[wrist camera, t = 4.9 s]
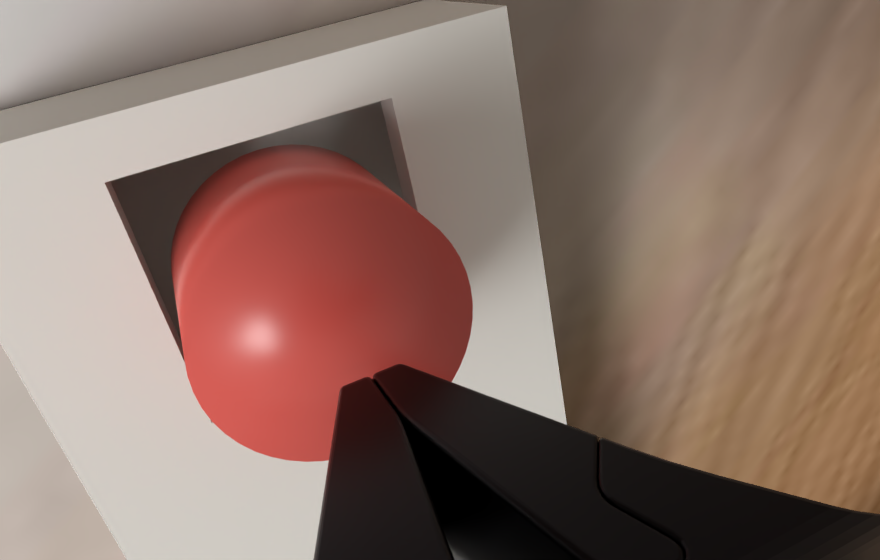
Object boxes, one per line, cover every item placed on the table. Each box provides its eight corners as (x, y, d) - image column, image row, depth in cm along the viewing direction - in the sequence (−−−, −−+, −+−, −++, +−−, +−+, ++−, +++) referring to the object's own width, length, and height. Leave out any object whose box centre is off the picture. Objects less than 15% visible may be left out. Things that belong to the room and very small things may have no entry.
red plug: (373, 114, 13) (444, 155, 10) (422, 316, 15) (492, 396, 12) (130, 187, 12) (132, 256, 9) (219, 393, 14) (243, 504, 11)
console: (426, -2, 16) (506, 5, 13) (532, 542, 24) (596, 634, 21) (-45, 121, 14) (-102, 171, 10) (251, 682, 22) (274, 811, 19)
